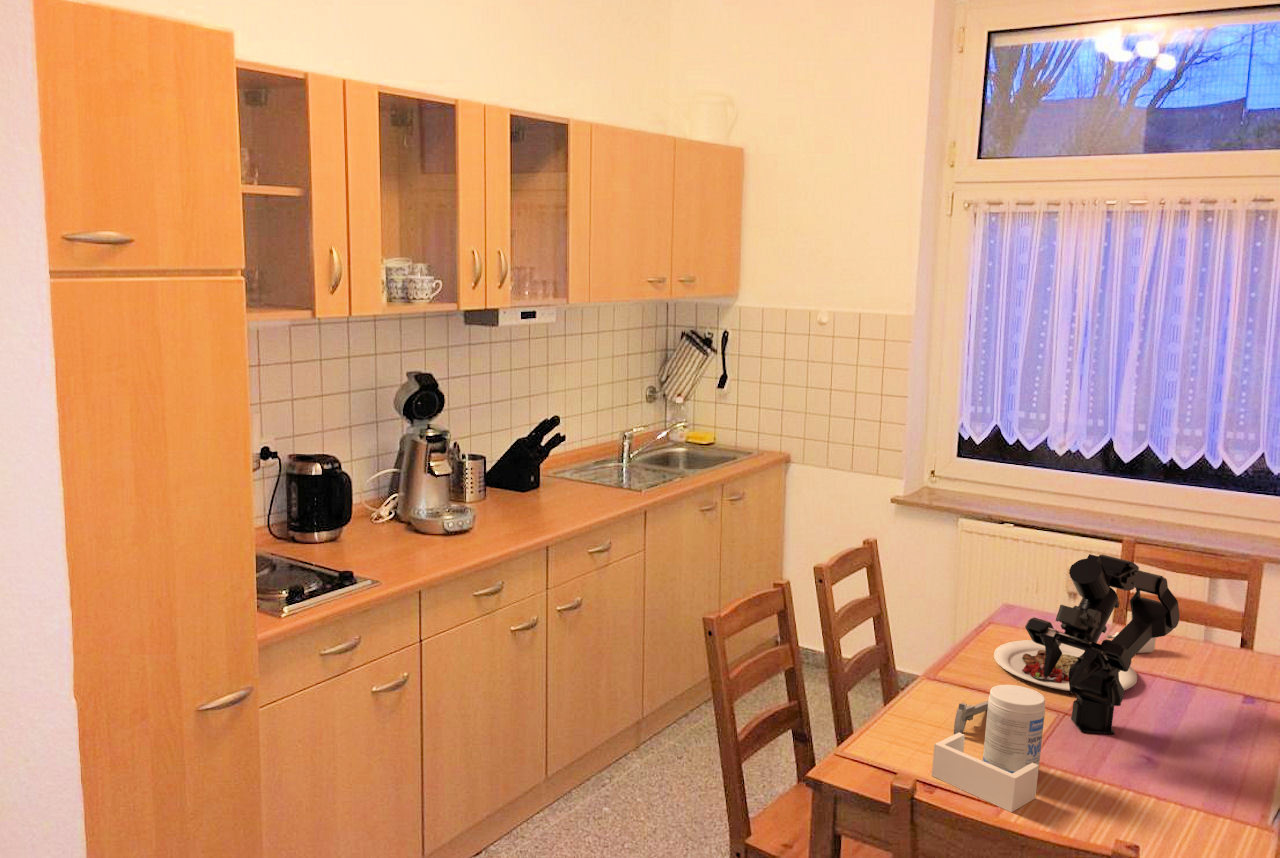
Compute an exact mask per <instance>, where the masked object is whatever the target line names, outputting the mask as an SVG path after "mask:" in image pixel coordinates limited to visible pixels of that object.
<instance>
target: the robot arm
mask: <svg viewBox="0 0 1280 858" xmlns="http://www.w3.org/2000/svg"><path fill="white" fill-rule="evenodd" d="M1068 570H1069V573H1068V574H1069V577H1070V580H1071V581H1072V583H1073V585H1074V587H1075V589H1076V592H1077V594H1078V595H1079V596H1080V597H1081V600H1080V602H1079V604H1078V605H1074V606H1072V607H1071V606H1067V605H1064V604H1059V608H1058V612H1057V614H1056V617H1055V622H1059V623H1061V624H1060V627H1061V630H1064V632H1061V631H1058V630H1057V629H1055V628H1054V626H1053V625H1052V623H1051V622H1050V621H1048V620H1044V619H1041V618H1038V617H1035V616H1034V617H1031V618H1030V619H1028V620H1027V623H1026V624H1025V627H1024V628H1025V630H1026V632H1027V633H1028V635H1029V637H1030V638H1031V639H1030V640H1033V641H1034V642H1035V643H1037V644H1040V645H1043V646H1045V664H1044V677H1045V678H1047V677H1048V676H1049V675H1050V674H1051V672H1052V670H1053V669H1054V667H1055V665H1056V664H1057V662H1058V660H1059V659H1060V657H1061V655H1062V652H1061V650H1060V648H1059V646H1060V645H1061V643H1063V644H1066V645H1069V646H1072V647H1075V648H1079V649H1082V650H1085V652H1084V653H1083V654H1082V655H1081V656H1080V657H1078V658H1077V659H1078V660H1077V661H1076V662H1075V663H1074V664H1073V665H1072V666H1071V668H1070V670H1069V686H1070V691H1069V693H1070V694H1074V695H1076V699H1075V700H1074V701H1073V702H1072V703H1073V704H1072V712H1071V716H1070V720H1071V721H1072V723H1073V724H1074V725H1075V726H1076V728H1077V729H1078V730H1079V731H1080V732H1081V733H1088V734H1090V733H1091V734H1102V735H1115V733H1116V732H1115V730H1114V728H1112V727H1113V719H1114V718H1113V717H1114V709H1115V707H1121V704H1122V702H1123V699H1124V697H1125V696H1124V695H1125V690H1124V689H1123V687H1122V685H1121V683H1120V681H1119V672H1120V671H1124V672H1127V671H1128V669H1129V667H1131V665H1132V659H1133V658H1134V657H1135V656H1136V655H1137V654H1139V653H1138V652H1139V650H1140V649H1141V648H1142V647H1143V646H1144V645H1145V644H1146V643H1147V642H1148V641H1149V640H1150V639H1151V638H1161V637H1165V636H1167V635H1168V634H1170V633H1171V632H1172V631H1173V630H1174V629H1176V628H1177V627H1178V625H1179V622H1180V609H1179V601H1178V600H1177V597H1175V595H1174V593H1173V592H1172V591H1171V590H1170V589H1169V585H1168V579H1167V578H1166V577H1164V576H1163V575H1159V574H1155V573H1151V572H1148V571H1147V572H1146V571H1143V570H1140V567H1139V566H1138V565H1137V564H1136V563H1135V562H1134V561H1131V560H1127V559H1123V558H1119V557H1115V556H1111V555H1107V554H1100V555H1094V554H1091V553H1089V554H1088V556H1087V557H1086V558H1083V559H1082V558H1081V559H1079V560H1078V561H1076V562H1074V563H1073V564H1071V566H1070V567H1069V569H1068ZM1113 588H1114V589H1116V590H1117V589H1118V590H1121V591H1125V592H1126V591H1132V590H1135V591H1136V592H1135V593H1134V594H1133V596H1132V597H1131V599H1130V600H1129V605H1130V610H1131V611H1130V612H1131V620H1130V621H1129V622H1128V623H1127V624H1126V625H1125V626H1124V627H1123V628H1122V629H1121V630H1120V631H1118V632H1119V633H1118V634H1117V636H1116V637H1115V638H1112V639H1111V640H1110V639H1108V638H1107V639H1104V640H1102V641H1101V643H1098V641H1099V639H1100V637H1101V635H1102V633H1104V634H1105V633H1106V631H1107V630H1108V627H1107V626H1106V625H1107V623H1108V621H1109V619H1110V616H1111V615H1112V614H1113V611H1114V609H1119V607H1120V601H1119V597H1118V593H1116V591H1115V590H1114V589H1113ZM1141 592H1144V593H1148V594H1152V595H1155V596H1157V600H1155V599H1151V598H1147V597H1143V596H1141Z"/></svg>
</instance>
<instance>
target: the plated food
mask: <svg viewBox="0 0 1280 858" xmlns="http://www.w3.org/2000/svg"><path fill="white" fill-rule="evenodd" d="M1059 648H1060V650H1061V652H1062V655H1061V657H1060V659H1059V660H1058V662H1057V664H1056V665H1055V667H1054V669H1053V670H1052V672H1051V674H1050V675H1049V676H1048V677H1047V678H1045V677H1044V664H1045V646H1043V645H1040V644H1037V643H1035V642H1034V641H1033V640H1032V639H1025V640H1023V639H1022V640H1014V641H1009V642H1005V643H1004V644H1001V645H999V646H998V647H996V648H995V650H994V652H993V658H994V660H995V662H996V663H997V664H998V665H999V666H1000V667H1001V668H1002V669H1004V671H1007V672H1009V673H1010V674H1011V675H1014V676H1016V677H1018V678H1020V679H1022V680H1025V681H1028V682H1031V683H1034V684H1036V685H1040V686H1044V687H1048V688H1052V689H1057V690H1062V691H1069V692H1070V686H1069V670H1070V668H1071V666H1072V665H1073V664H1074V663H1075V662H1076V661H1077V660H1078V659H1077V658H1078V657H1080V656H1081V655H1082V654H1083V653H1084V652H1085V650H1082V649H1079V648H1075V647H1072V646H1069V645H1066V644H1063V643H1061V645H1060V646H1059ZM1137 680H1138V675H1137V673H1136V671H1135V670H1134V669H1133V668H1132V666H1130V667H1129V669H1128V671H1127V672H1124V671H1120V672H1119V681H1120V683H1121V685H1122V687H1123V689H1124V691H1126V690H1128V689H1130V688H1132V687H1134V686H1135V685H1136V683H1138V681H1137Z"/></svg>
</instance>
